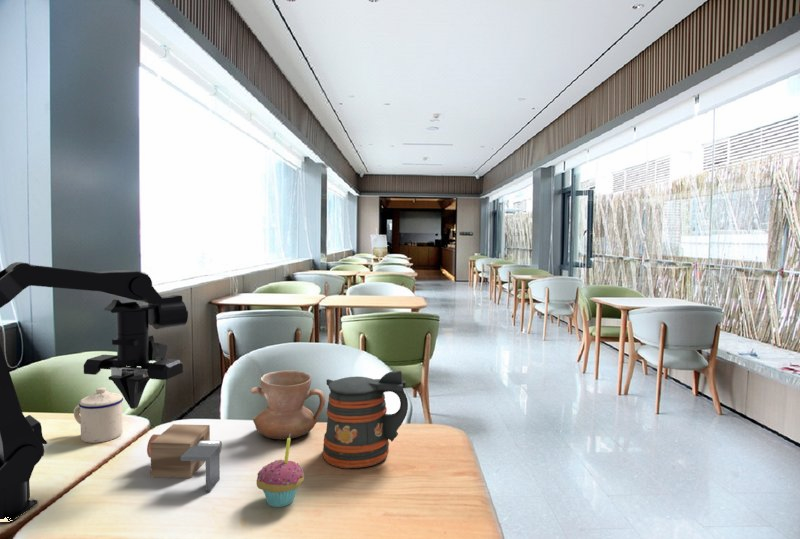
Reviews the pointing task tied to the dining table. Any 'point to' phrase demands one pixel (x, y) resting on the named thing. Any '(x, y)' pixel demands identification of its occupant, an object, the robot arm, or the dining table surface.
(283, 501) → the cupcake
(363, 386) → the beer stein
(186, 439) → the hitch block
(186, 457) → the bracket
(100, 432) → the teacup with lid
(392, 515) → the dining table surface
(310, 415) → the ceramic jug
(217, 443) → the pin
